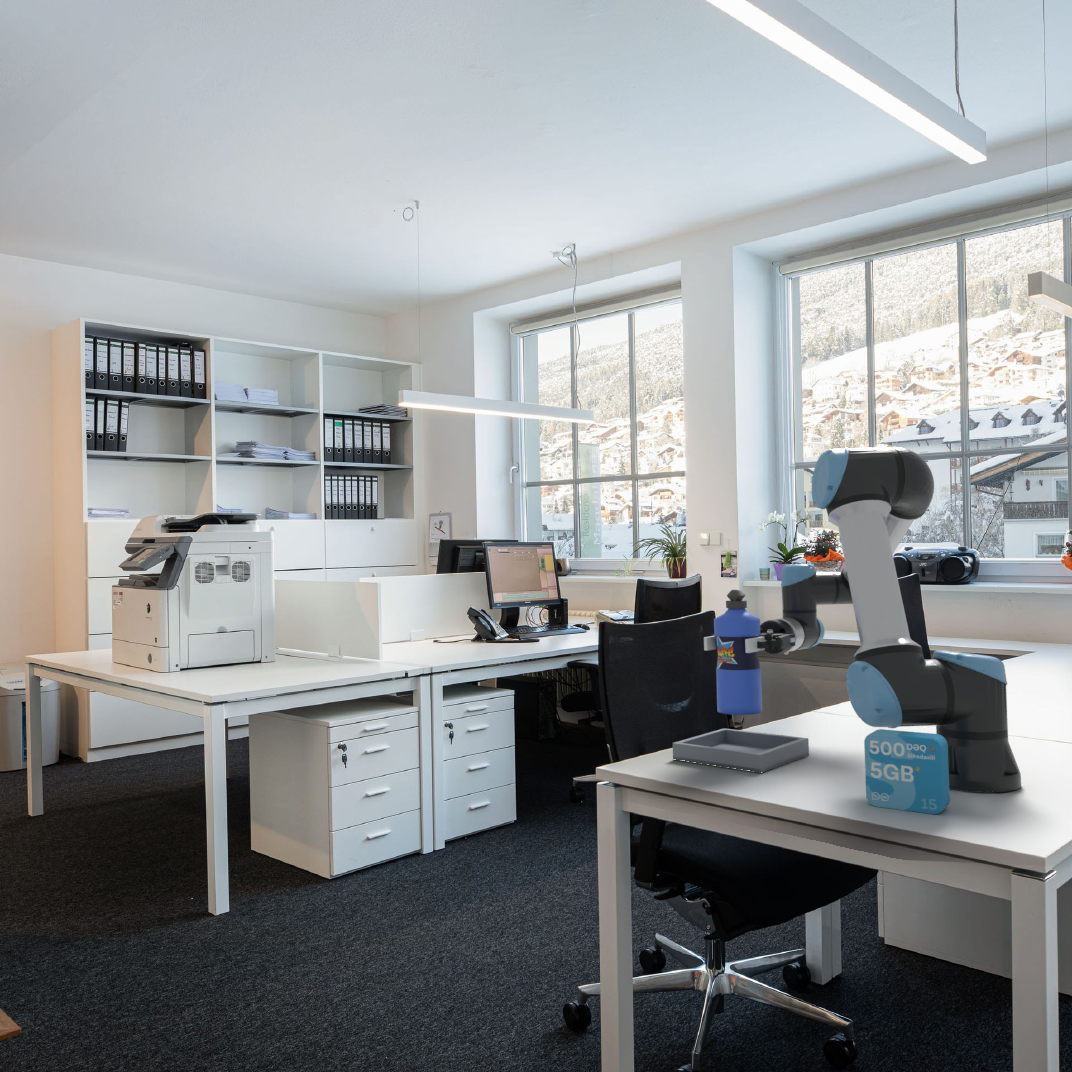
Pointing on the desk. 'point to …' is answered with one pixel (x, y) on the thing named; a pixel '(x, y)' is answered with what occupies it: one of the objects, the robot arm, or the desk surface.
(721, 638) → the water bottle
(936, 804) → the data package
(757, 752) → the tray
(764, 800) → the desk surface
